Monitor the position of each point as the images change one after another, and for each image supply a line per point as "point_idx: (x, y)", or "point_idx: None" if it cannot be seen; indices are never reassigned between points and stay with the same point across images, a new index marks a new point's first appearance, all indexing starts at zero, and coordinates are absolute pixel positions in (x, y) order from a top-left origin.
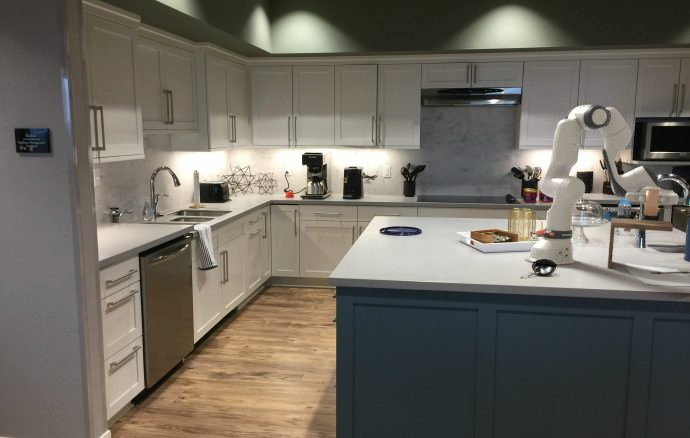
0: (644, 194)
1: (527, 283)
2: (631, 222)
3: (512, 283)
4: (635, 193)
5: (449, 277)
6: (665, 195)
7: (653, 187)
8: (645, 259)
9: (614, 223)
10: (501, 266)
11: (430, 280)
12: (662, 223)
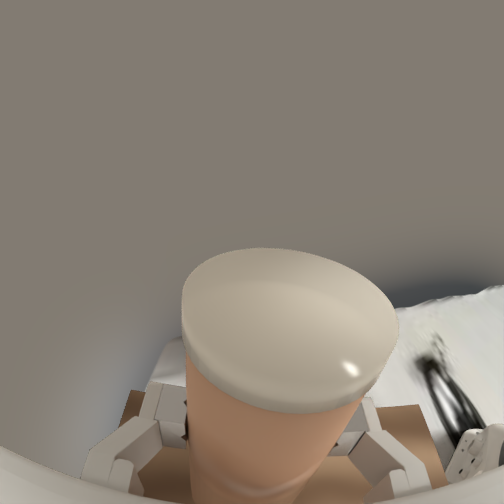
0: (382, 502)
1: (415, 317)
2: (343, 459)
3: (427, 311)
4: (486, 494)
5: (485, 309)
6: (65, 476)
7: (285, 261)
8: None
9: (404, 406)
10: (500, 381)
11: (484, 295)
12: (155, 492)
